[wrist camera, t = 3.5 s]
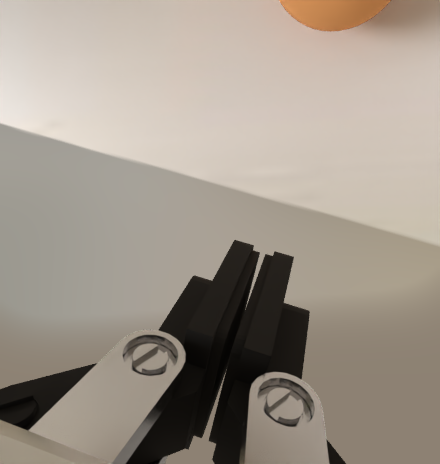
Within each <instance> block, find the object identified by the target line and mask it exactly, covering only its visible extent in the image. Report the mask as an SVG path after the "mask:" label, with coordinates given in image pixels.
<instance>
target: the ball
mask: <svg viewBox="0 0 440 464" xmlns="http://www.w3.org/2000/svg"><path fill="white" fill-rule="evenodd" d="M279 1H280V3H281V4H282V5H283V7H284V8H285V10H286V11H287V12H288V13H289V14H290V15H291V16H292V17H293V18H295V19H296V20H297V21H298V22H300V23H302V24H304V25H305V26H308V27H310V28H313V29H317V30H321V31H341V30H346V29H350V28H353V27H355V26H358V25H360V24H362V23H364V22H366V21H368V20H369V19H371V18H372V17H374V16H375V15H376V14H378V13H379V12H380V11H381V10H382V9H384V8H385V6H386V5H387V4H388V3H389V2H390V1H391V0H279Z"/></svg>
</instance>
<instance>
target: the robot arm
mask: <svg viewBox="0 0 440 464" xmlns="http://www.w3.org/2000/svg"><path fill="white" fill-rule="evenodd" d="M253 247H254V246H253V245H250V244H247V243H243V242H240V241H236V240H234V242H233V244H232V246H231V247H230V249H229V251H228V253H227V255H226V257H225V258H224V260H223V262H222V264H221V266H220V268H219V270H218V271H217V274H216V275H215V277H214V279H213V281H211V280H208V279H204V278H201V277H198V276H193V277H192V279H191V280H190V282H189V283H188V285H187V286H186V288H185V289H184V291H183V293H182V294H181V296H180V297H179V299H178V300H177V302H176V304H175V305H174V307H173V308H172V310H171V311H170V313H169V314H168V316H167V318H166V319H165V321H164V322H163V324H162V326H161V327H160V329H159V330H142V331H137V332H134V333H131V334H129V335H128V336H126V337H125V338H123V339H122V340H121V341H120V342H119V343H118V344H117V345H116V346H115V347H114V348H113V349H112V350H111V351H110V352H109V353H108V354H107V355H105V356H104V357H103V358H102V360H100V361H99V362H98V363H96V364H92V365H88V366H85V367H81V368H77V369H73V370H69V371H65V372H61V373H57V374H53V375H50V376H46V377H42V378H38V379H35V380H30V381H27V382H23V383H19V384H15V385H11V386H8V387H5V388H3V389H0V464H165V463H166V461H167V457H168V455H170V454H173V453H175V452H178V451H180V450H183V449H185V448H186V449H189V447H190V444H191V441H192V438H193V436H197V437H200V438H202V436H203V434H204V430H205V428H206V425H207V423H208V420H209V417H210V414H211V411H212V409H213V406H214V403H215V400H216V397H217V394H218V391H219V389H220V386H221V383H222V380H223V377H224V375H225V378H224V382H223V386H222V390H221V394H220V398H219V402H218V406H217V410H216V414H215V418H214V422H213V426H212V430H211V433H210V437H209V441H211V442H214V443H216V448H215V451H214V455H213V462H214V463H215V464H346V463H345V462H344V461H343V459H342V458H341V457H340V456H339V454H338V453H337V452H336V450H335V449H334V448H333V447H332V445H331V444H330V443H329V442H328V441H327V439H326V433H325V425H324V417H323V409H322V406H321V402H320V399H319V398H318V396H317V395H316V393H315V391H314V390H313V389H312V388H311V387H310V386H309V385H308V384H307V383H305V382H304V381H302V380H301V379H302V370H303V363H304V354H305V346H306V339H307V330H308V322H309V313H310V312H309V311H308V310H305V309H302V308H298V307H295V306H292V305H289V304H286V303H284V298H285V293H286V289H287V285H288V280H289V276H290V272H291V267H292V263H293V258H294V257H292V256H289V255H285V254H282V253H278V252H274V255H273V256H270V255H267V254H266V255H265V257H264V260H263V263H262V265H261V269H260V271H259V274H258V277H257V279H256V282H255V285H254V288H253V290H252V293H251V296H250V299H249V301H248V297H249V293H250V289H251V285H252V281H253V277H254V273H255V269H256V265H257V262H258V258H259V254H260V253H259V252H256V251H253ZM247 301H248V304H247ZM246 304H247V307H246ZM245 308H246V310H245ZM226 369H227V370H226ZM225 372H226V374H225Z"/></svg>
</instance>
